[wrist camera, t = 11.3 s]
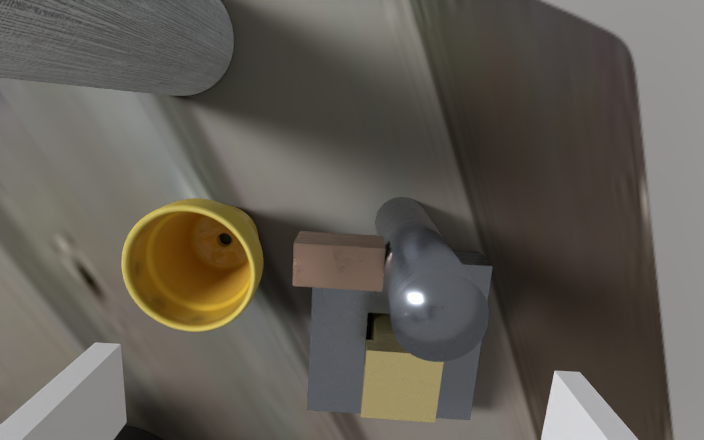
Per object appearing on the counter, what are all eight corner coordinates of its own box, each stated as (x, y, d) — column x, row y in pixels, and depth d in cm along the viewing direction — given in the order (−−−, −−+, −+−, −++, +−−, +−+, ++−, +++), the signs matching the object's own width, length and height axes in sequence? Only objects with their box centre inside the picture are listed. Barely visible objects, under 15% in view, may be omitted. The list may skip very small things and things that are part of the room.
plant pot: (271, 179, 40) (245, 199, 31) (285, 281, 43) (264, 328, 33) (164, 189, 41) (105, 211, 31) (184, 289, 43) (135, 338, 34)
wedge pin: (359, 347, 44) (360, 417, 34) (364, 294, 43) (366, 350, 33) (417, 351, 44) (435, 422, 34) (423, 298, 43) (444, 356, 33)
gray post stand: (306, 384, 46) (269, 584, 26) (314, 191, 41) (275, 262, 21) (460, 394, 46) (536, 600, 26) (487, 202, 41) (605, 282, 21)
